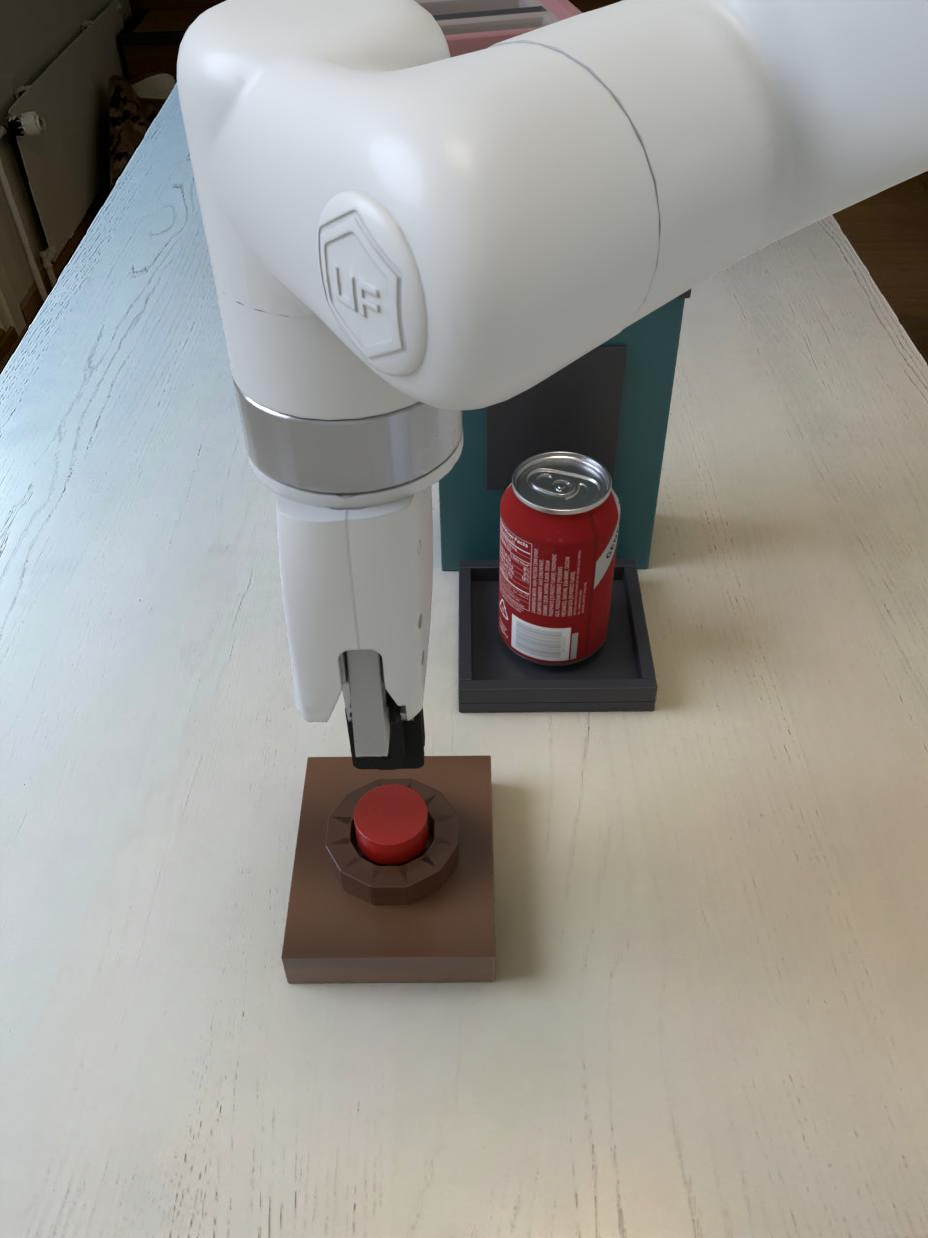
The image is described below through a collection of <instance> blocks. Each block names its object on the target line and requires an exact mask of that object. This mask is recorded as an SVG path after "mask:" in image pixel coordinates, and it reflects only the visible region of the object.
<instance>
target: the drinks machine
mask: <svg viewBox="0 0 928 1238" xmlns="http://www.w3.org/2000/svg"><path fill="white" fill-rule="evenodd" d="M692 289H693V288H691V289H689V290H688V291H686V292H684V293H683V294H681V295H679V296H678V297H676V298H674V299H673V300H671V301H669V302H668V303H666V304H664V305H663V306H661V307H659V308H658V309H656V310H654V311H653V312H651V313H649V314H648V315H646V316H644V317H643V318H641V319H639V320H638V321H636V322H634V323H633V324H631V325H629V326H628V327H626V328H624V329H623V330H622V331H621V332H620V333H618V334H617V335H615V336H614V337H612V338H611V339H609V340H607V341H606V342H604V343H603V344H601V345H599V346H598V347H596V348H594V349H593V350H591V351H590V352H588V353H586V354H585V355H583V356H582V357H580V358H578V359H577V360H575V361H574V362H572V363H570V364H569V365H567V366H566V367H564V368H562V369H561V370H559V371H558V372H556V373H554V374H553V375H551V376H550V377H548V378H546V379H545V380H543V381H541V382H540V383H538V384H536V385H535V386H533V387H531V388H530V389H528V390H526V391H524V392H522V393H520V394H518V395H516V396H514V397H512V398H510V399H508V400H506V401H503V402H500V403H497V404H494V405H491V406H488V407H485V408H480V409H474V410H463V448H462V452H461V455H460V457H459V459H458V461H457V462H456V463H455V465H454V466H453V468H452V469H451V470H450V471H449V473H447V474H446V475H445V476H444V477H443V478H442V479H440V480H439V481H438V502H439V503H438V505H439V506H438V507H439V531H440V532H439V534H440V559H441V560H440V561H441V562H440V563H441V571H459V561H460V560H499V555H500V503H501V498H502V496H503V494H504V492H505V490H506V489H507V488H508V486H509V485H510V484H511V483H512V475H513V472H514V470H515V469H516V467H517V466H518V465H519V464H520V463H521V462H523V461H524V460H526V459H527V458H529V457H531V456H534V455H537V454H540V453H545V452H552V451H568V452H575V453H579V454H583V455H586V456H588V457H591V458H593V459H595V460H596V461H598V462H599V463H601V464H602V465H603V466H604V467H605V468H606V469H607V470H608V472H609V474H610V476H611V480H612V489H613V491H614V492H615V494H616V495H617V497H618V499H619V503H620V509H621V510H620V521H619V530H618V539H617V548H616V558H615V559H635V562H636V567H637V570H638V569H648V568H649V562H650V555H651V549H652V541H653V534H654V527H655V521H656V520H655V519H656V513H657V505H658V498H659V491H660V483H661V477H662V469H663V462H664V455H665V447H666V439H667V431H668V424H669V419H670V411H671V403H672V396H673V388H674V381H675V374H676V367H677V361H678V360H677V359H678V351H679V345H680V337H681V330H682V323H683V317H684V310H685V309H684V308H685V301H686V299H690V298H691V295H692Z"/></svg>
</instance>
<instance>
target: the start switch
mask: <svg viewBox="0 0 928 1238" xmlns="http://www.w3.org/2000/svg"><path fill="white" fill-rule="evenodd" d="M390 784H396V785H403V786H406V787H409V788H411V789H413V790H414V791H416V792H417V793H418V794H419V795H420V796H421V797H422V798H423V799H424V801H425V803H426V806H427V811H428V828H429V837H428V841H427V844H426V846H425V847H424V849H423V850H422V851H421V853H420V854H419V855H417V856H416V857H415V858H413V859H412V860H410V861H408V862H405V863H402V864H397V865H384V864H380V863H377V862H374V861H372V860H370V859H369V858H368V857H366V856H365V855H364V854H363V853H362V851H361V850H360V848H359V846H358V843H357V838H356V831H355V824H354V810H355V807H356V805H357V803H358V802H359V800H360V799H361V798H362V797H363V796H364V795H365V794H366V793H367V792H369V791H370V790H372V789H374V788H376V787H379V786H383V785H390ZM492 786H493V785H492V756H491V755H424V765H423V766H422V767H421V768H417V769H396V770H377V769H363V770H362V769H357V768H355V767H354V766H353V762H352V756H307V758H306V767H305V775H304V782H303V790H302V798H301V805H300V812H299V820H298V827H297V836H296V842H295V851H294V857H293V858H294V859H293V866H292V873H291V881H290V888H289V897H288V902H287V903H288V904H287V912H286V918H285V927H284V933H283V943H282V948H281V949H282V950H281V956H280V958H281V962H282V966H283V970H284V974H285V977H286V982H287V984H324V983H325V984H331V983H332V984H334V983H337V984H338V983H339V984H340V983H341V984H345V983H349V984H350V983H481V982H483V983H484V982H489V983H490V982H491V983H493V982H496V921H495V920H496V919H495V917H496V916H495V913H496V911H495V876H494V869H495V868H494V832H493V831H494V829H493V826H494V825H493V791H492V790H493V789H492Z"/></svg>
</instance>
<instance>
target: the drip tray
mask: <svg viewBox="0 0 928 1238" xmlns="http://www.w3.org/2000/svg"><path fill="white" fill-rule="evenodd" d="M457 647H458V650H457V651H458V658H457V660H458V661H457V663H458V665H457V667H458V669H457V671H458V672H457V673H458V674H457V675H458V678H457V680H458V681H457V682H458V683H457V684H458V685H457V686H458V687H457V688H458V689H457V693H458V694H457V695H458V697H457V698H458V713H533V712H534V713H535V712H536V713H542V712H543V713H545V712H639V711H640V712H645V711H646V712H648V711H650V712H652V711H655V707H656V701H657V693H658V683H657V676H656V670H655V664H654V660H653V653H652V648H651V642H650V636H649V630H648V624H647V619H646V613H645V606H644V602H643V596H642V590H641V584H640V577H639V573H638V569H637V567H636V562H635V559H615V567H614V576H613V585H612V594H611V603H610V612H609V622H608V631H607V636H606V639H605V641H604V643H603V645H602V646H601V648H600V649H599V650H598V651H597V652H596V653H594V654H593V655H592V656H590V657H589V658H587V659H585V660H583V661H580V662H577V663H574V664H569V665H563V666H548V665H541V664H537V663H533V662H530V661H528V660H525V659H523V658H521V657H519V656H518V655H516V654H515V653H514V652H512V651H511V650H510V649H509V648H508V647H507V646H506V644H505V643H504V642H503V640H502V638H501V635H500V632H499V560H460V561H459V570H458V646H457Z"/></svg>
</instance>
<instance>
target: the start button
mask: <svg viewBox="0 0 928 1238" xmlns="http://www.w3.org/2000/svg"><path fill="white" fill-rule="evenodd" d="M354 824H355V831H356V838H357V843H358V846H359V848H360V850H361V851H362V853H363V854H364V855H365V856H366V857H368V858H369V859H370V860H372V861H374V862H377V863H380V864H384V865H397V864H402V863H405V862H408V861H410V860H412V859H413V858H415V857H416V856H417V855H419V854H420V853H421V851H422V850H423V849H424V847H425V846H426V844H427V841H428V837H429V828H428V811H427V806H426V803H425V801H424V799H423V798H422V797H421V796H420V795H419V794H418V793H417V792H416V791H414V790H413V789H411V788H409V787H406V786H403V785H396V784H390V785H383V786H379V787H376V788H374V789H372V790H370V791H369V792H367V793H366V794H365V795H364V796H363V797H362V798H361V799H360V800H359V802H358V803H357V805H356V807H355V810H354Z"/></svg>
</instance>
